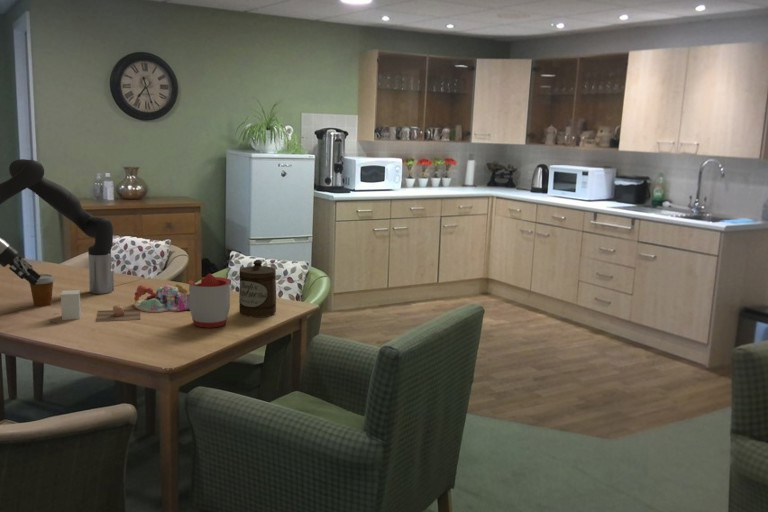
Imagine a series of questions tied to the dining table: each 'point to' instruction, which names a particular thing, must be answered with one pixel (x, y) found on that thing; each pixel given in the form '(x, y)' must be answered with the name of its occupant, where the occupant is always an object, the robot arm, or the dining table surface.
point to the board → (108, 316)
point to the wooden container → (257, 290)
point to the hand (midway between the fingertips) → (37, 280)
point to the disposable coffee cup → (42, 290)
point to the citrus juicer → (209, 301)
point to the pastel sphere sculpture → (163, 299)
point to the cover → (70, 304)
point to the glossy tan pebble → (118, 310)
